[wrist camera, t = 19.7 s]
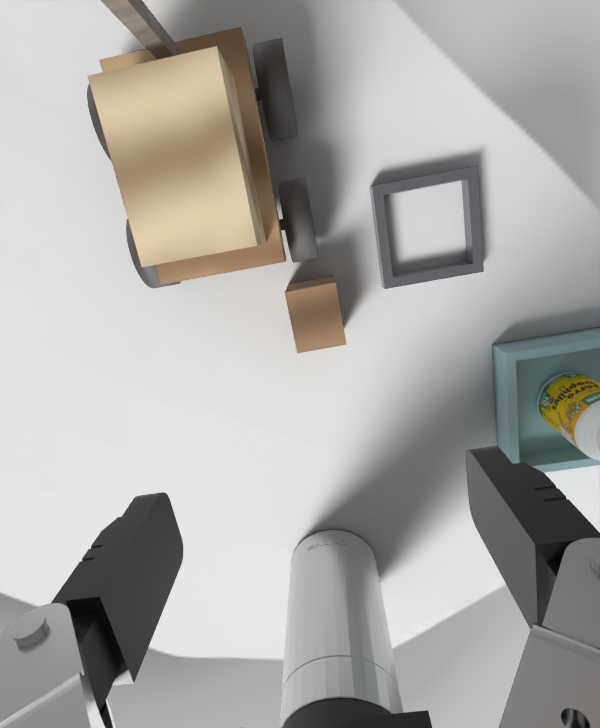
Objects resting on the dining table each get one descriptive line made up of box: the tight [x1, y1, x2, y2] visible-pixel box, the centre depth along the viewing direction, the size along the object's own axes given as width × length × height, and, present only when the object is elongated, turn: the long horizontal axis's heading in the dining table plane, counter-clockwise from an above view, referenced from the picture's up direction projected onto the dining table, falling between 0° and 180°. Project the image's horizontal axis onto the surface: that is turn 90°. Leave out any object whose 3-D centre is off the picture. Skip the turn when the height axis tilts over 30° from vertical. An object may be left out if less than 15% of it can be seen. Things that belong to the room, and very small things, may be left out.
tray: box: [492, 327, 600, 472], centre depth 39 cm, size 12×12×3 cm
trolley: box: [87, 0, 318, 288], centre depth 27 cm, size 15×14×19 cm
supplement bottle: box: [536, 372, 600, 461], centre depth 36 cm, size 5×5×10 cm
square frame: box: [370, 166, 484, 289], centre depth 36 cm, size 8×8×2 cm
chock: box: [285, 276, 346, 353], centre depth 37 cm, size 5×4×5 cm
